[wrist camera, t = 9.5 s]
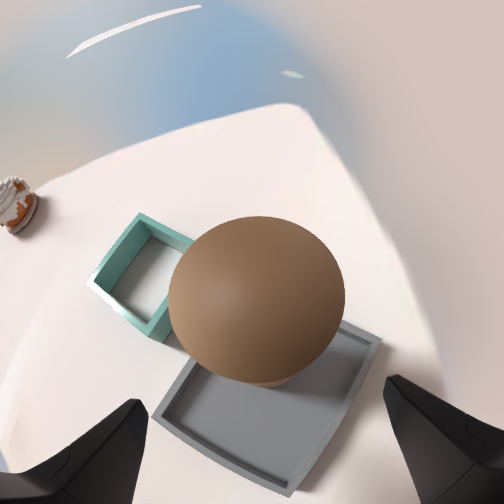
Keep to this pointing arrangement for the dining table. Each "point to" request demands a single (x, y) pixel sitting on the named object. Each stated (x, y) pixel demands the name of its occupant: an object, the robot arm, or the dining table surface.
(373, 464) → the dining table surface
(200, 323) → the brown tall rounded cylinder
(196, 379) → the tray
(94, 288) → the teal square frame
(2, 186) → the decorative ornament
